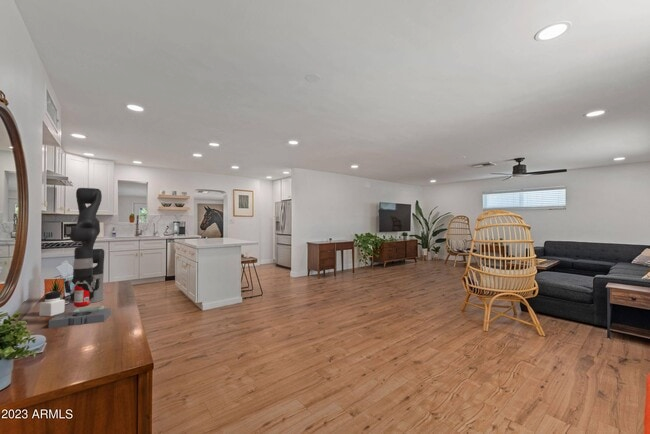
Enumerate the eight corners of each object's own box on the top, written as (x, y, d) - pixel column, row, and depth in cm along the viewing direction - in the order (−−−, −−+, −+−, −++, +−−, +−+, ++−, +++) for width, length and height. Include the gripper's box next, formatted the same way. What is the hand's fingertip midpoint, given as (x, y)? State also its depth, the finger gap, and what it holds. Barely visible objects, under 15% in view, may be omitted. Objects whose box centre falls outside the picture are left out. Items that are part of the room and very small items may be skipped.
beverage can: (93, 304, 141) (94, 281, 142) (79, 308, 135) (80, 283, 136) (84, 303, 143) (85, 280, 144) (70, 307, 137) (71, 283, 137)
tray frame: (77, 311, 153) (77, 308, 153) (104, 309, 158) (104, 305, 158) (68, 318, 142) (68, 314, 142) (97, 315, 147) (97, 311, 147)
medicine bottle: (64, 312, 152) (65, 290, 153) (50, 316, 145) (51, 294, 146) (53, 311, 153) (54, 290, 153) (38, 316, 146) (39, 293, 146)
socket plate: (48, 328, 129) (48, 320, 129) (60, 320, 140) (60, 313, 140) (103, 321, 138) (104, 314, 138) (110, 314, 149) (110, 308, 149)
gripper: (103, 265, 146) (102, 296, 146) (68, 266, 140) (67, 299, 140) (98, 267, 140) (97, 300, 139) (61, 269, 133) (60, 303, 133)
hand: (82, 299), depth 139 cm, fingers closed on beverage can, 6 cm apart
